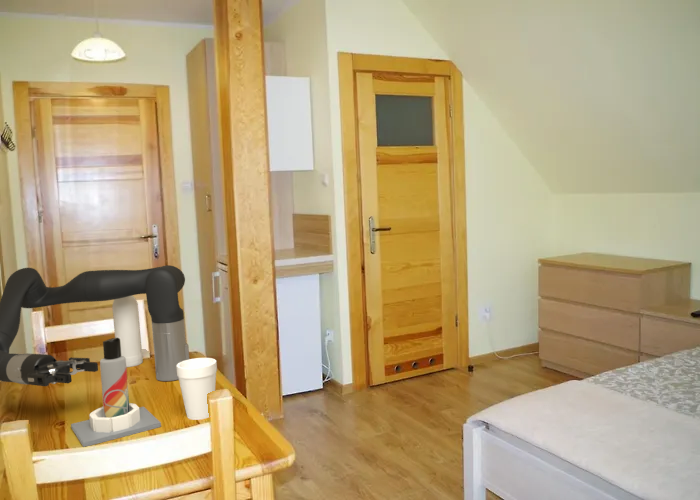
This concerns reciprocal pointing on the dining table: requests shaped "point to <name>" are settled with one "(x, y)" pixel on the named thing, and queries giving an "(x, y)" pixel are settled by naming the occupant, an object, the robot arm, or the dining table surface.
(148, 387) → the dining table surface
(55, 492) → the dining table surface
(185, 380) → the foam cup
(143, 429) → the socket
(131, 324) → the bottle
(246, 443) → the dining table surface
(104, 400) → the lotion bottle
